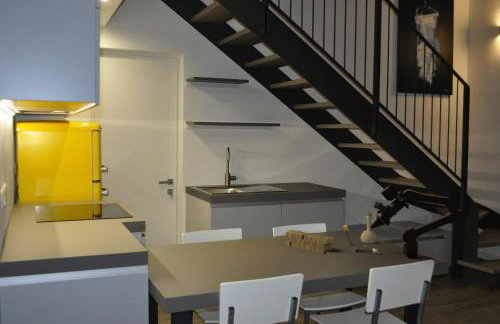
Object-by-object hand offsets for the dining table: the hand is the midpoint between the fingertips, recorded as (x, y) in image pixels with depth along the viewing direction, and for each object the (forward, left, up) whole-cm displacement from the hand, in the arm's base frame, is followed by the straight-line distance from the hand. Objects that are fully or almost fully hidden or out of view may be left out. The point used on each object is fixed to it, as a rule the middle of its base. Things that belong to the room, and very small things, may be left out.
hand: (370, 227), depth 267 cm
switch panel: (+2, +2, -14) cm, 14 cm away
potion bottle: (+18, -18, -14) cm, 29 cm away
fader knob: (+5, -2, -12) cm, 13 cm away
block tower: (+26, +19, -14) cm, 35 cm away
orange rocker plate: (+6, +6, -11) cm, 14 cm away
